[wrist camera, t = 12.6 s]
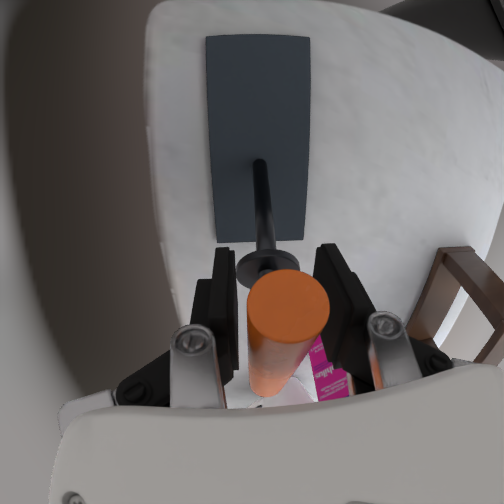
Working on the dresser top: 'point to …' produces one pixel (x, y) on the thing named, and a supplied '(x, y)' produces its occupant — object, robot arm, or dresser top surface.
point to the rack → (445, 290)
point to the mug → (286, 396)
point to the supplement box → (327, 375)
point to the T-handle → (277, 301)
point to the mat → (258, 130)
